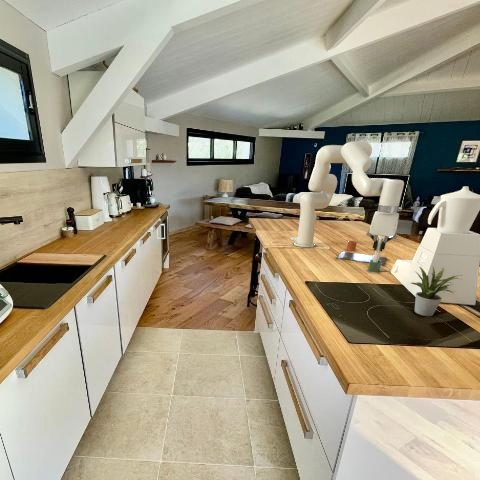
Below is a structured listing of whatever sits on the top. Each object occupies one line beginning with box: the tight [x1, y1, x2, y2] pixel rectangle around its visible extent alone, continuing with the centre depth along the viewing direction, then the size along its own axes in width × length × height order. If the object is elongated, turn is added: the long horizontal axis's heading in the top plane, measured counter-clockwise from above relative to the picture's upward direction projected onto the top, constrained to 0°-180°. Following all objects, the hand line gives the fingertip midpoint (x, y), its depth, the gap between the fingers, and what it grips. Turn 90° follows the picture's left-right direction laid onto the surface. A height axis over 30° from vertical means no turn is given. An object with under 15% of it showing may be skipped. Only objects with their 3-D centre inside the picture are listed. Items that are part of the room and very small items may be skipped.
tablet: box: [336, 251, 387, 266], centre depth 166 cm, size 22×16×1 cm
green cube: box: [367, 260, 382, 273], centre depth 146 cm, size 5×5×5 cm
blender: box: [389, 185, 480, 306], centre depth 121 cm, size 33×18×40 cm, turn 166°
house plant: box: [410, 267, 463, 317], centre depth 102 cm, size 14×14×16 cm
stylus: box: [373, 237, 384, 263], centre depth 144 cm, size 2×2×15 cm
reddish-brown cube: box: [346, 240, 358, 252], centre depth 184 cm, size 5×5×5 cm
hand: (378, 250), depth 143 cm, fingers closed on stylus, 2 cm apart
